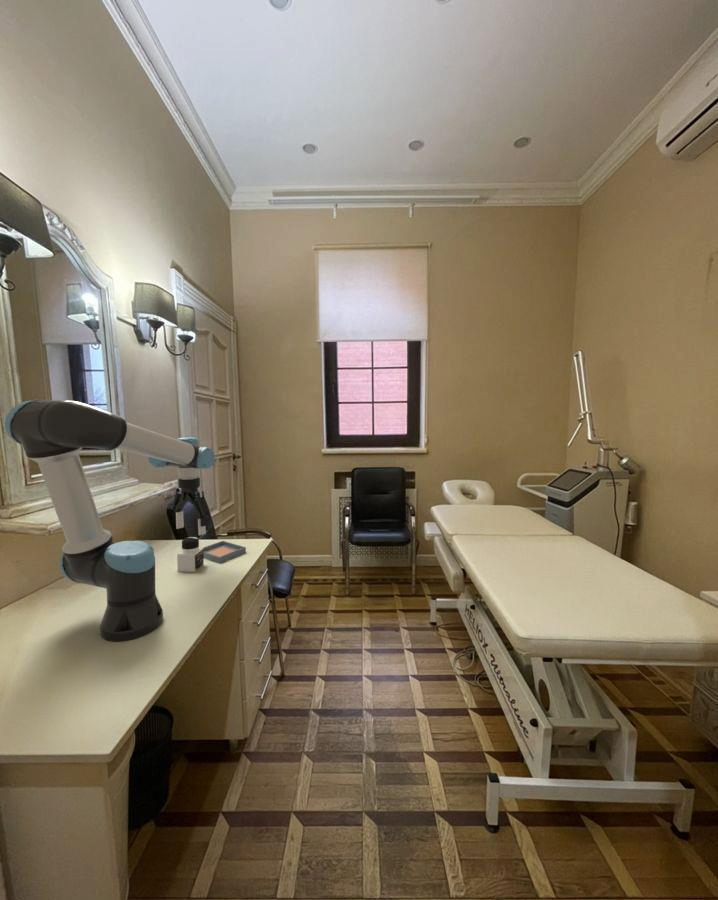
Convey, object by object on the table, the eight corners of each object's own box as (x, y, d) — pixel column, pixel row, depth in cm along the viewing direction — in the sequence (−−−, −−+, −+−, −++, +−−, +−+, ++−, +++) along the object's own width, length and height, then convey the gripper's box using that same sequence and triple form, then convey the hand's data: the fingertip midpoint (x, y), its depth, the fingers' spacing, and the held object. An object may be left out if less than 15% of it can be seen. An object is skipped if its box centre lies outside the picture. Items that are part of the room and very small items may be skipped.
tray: (219, 563, 147) (219, 557, 146) (195, 555, 154) (195, 550, 154) (245, 552, 159) (245, 547, 159) (222, 545, 166) (222, 540, 166)
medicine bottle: (195, 572, 138) (195, 542, 137) (177, 571, 138) (176, 541, 137) (203, 564, 145) (203, 535, 144) (186, 564, 145) (185, 535, 144)
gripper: (219, 479, 135) (220, 534, 138) (178, 472, 148) (180, 523, 150) (201, 482, 129) (203, 539, 131) (160, 475, 141) (162, 527, 144)
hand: (190, 531), depth 141 cm, fingers open, 13 cm apart
